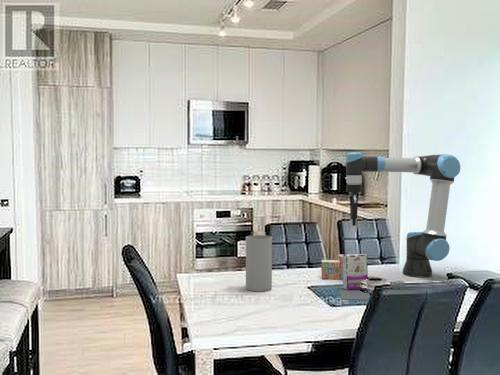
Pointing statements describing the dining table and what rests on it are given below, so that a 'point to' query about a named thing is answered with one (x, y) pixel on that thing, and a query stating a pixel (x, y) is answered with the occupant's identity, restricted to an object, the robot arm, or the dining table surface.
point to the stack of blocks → (332, 269)
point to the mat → (353, 295)
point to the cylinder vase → (258, 263)
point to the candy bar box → (354, 270)
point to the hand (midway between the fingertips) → (353, 231)
